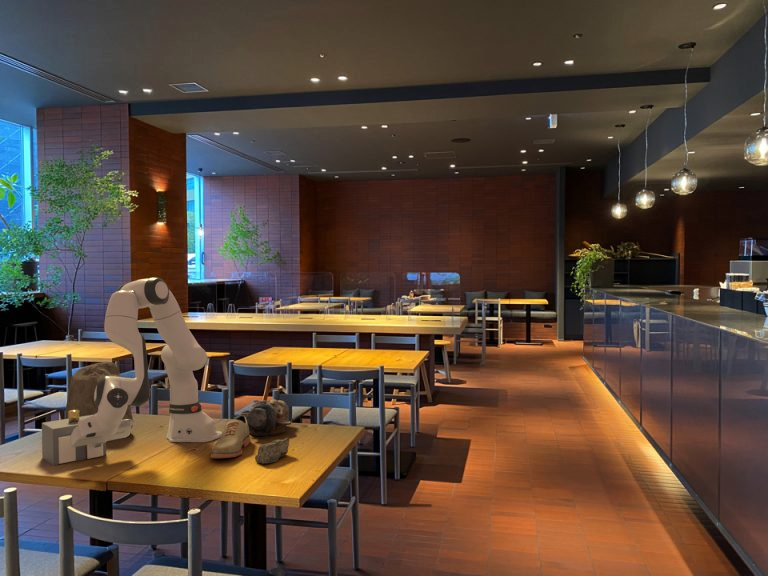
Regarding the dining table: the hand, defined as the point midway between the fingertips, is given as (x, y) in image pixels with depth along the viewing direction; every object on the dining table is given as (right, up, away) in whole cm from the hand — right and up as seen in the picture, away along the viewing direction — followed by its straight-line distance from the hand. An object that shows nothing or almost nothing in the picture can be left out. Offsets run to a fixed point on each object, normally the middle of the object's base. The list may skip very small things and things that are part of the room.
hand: (96, 445), depth 219 cm
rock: (+65, -5, -2) cm, 65 cm away
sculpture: (+55, -4, +37) cm, 67 cm away
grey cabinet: (-10, -5, +3) cm, 11 cm away
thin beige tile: (-12, -4, -1) cm, 13 cm away
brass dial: (-10, +8, +3) cm, 13 cm away
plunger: (-5, -4, +5) cm, 8 cm away
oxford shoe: (+47, -5, +8) cm, 48 cm away
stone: (-16, -4, +41) cm, 44 cm away
